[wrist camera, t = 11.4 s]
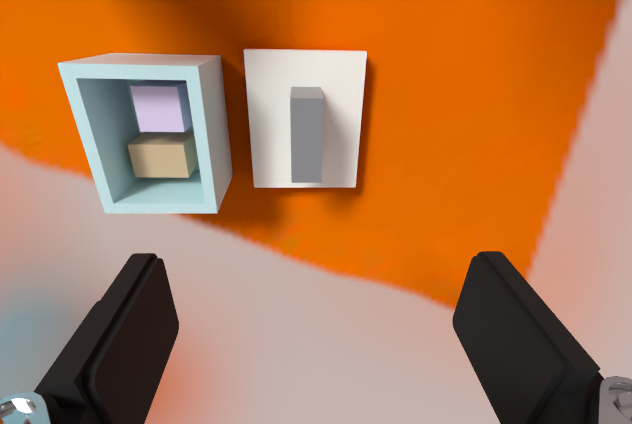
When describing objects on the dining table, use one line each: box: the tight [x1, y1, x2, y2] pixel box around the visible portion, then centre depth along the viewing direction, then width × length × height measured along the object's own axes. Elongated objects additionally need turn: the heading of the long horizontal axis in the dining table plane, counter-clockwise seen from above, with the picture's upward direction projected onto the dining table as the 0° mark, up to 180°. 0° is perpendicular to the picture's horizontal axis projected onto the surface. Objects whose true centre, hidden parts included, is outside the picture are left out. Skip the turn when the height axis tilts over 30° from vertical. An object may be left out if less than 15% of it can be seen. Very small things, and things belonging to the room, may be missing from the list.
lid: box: [244, 49, 367, 188], centre depth 26 cm, size 11×9×6 cm
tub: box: [57, 53, 233, 213], centre depth 25 cm, size 10×8×7 cm
